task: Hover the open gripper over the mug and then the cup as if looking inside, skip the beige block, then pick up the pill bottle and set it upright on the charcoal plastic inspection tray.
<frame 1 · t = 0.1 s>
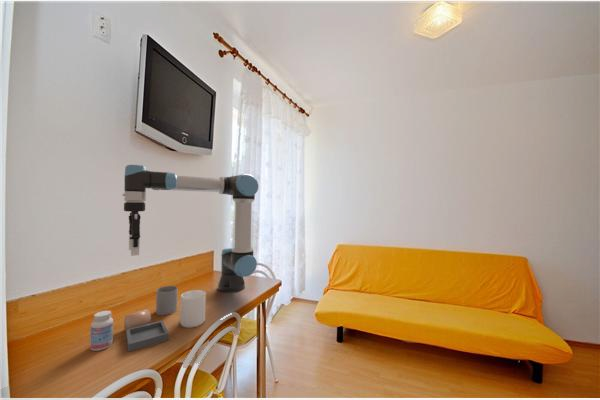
hand: (133, 252, 106), 28 cm above the table, fingers open, 13 cm apart
cup: (166, 311, 114), on the table
pill bottle: (101, 347, 86), on the table
tray: (147, 338, 92), on the table
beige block: (137, 327, 99), on the table
mug: (190, 322, 105), on the table
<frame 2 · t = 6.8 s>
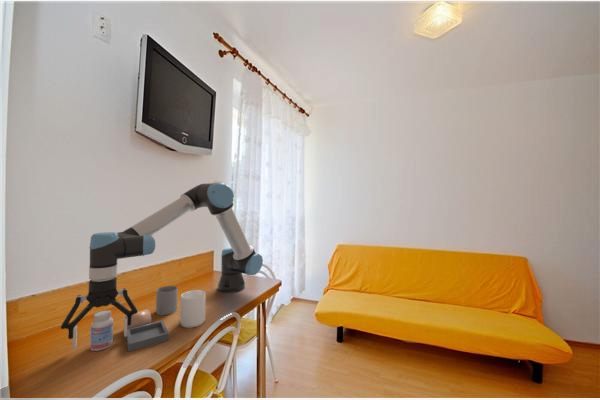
hand: (101, 340, 86), 2 cm above the table, fingers open, 13 cm apart
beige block: (137, 327, 99), on the table, tilted 6°
everything else where it was.
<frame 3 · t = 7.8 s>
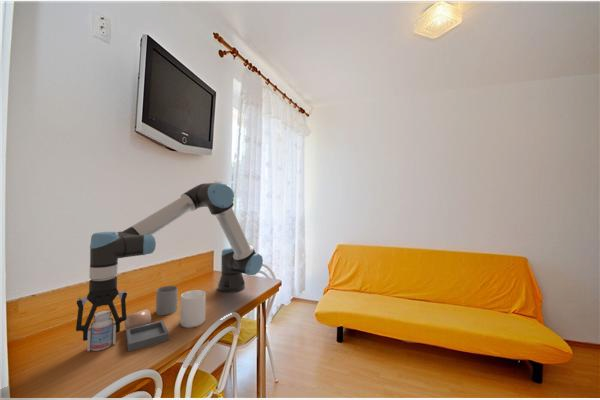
hand: (101, 345, 86), 0 cm above the table, fingers closed on pill bottle, 6 cm apart
pill bottle: (101, 347, 86), on the table, touching gripper
everything else where it was.
when the fingers open (3 cm above the table, at t = 14.1 s): pill bottle stays where it is, resting on tray.
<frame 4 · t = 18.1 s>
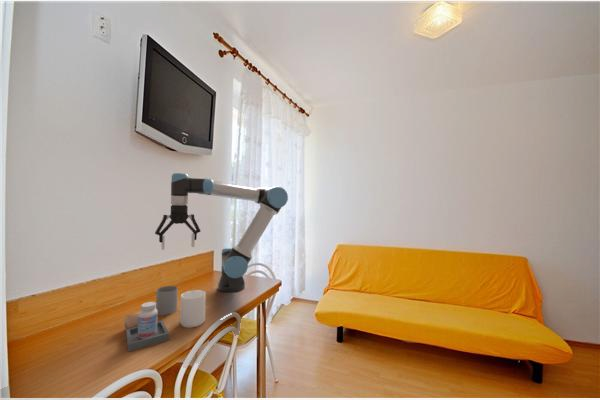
hand: (178, 247, 125), 27 cm above the table, fingers open, 13 cm apart
pill bottle: (147, 335, 92), point 1 cm above the table, touching tray
everything else where it was.
at the end: pill bottle inside the target area on the tray (0.1 cm from its centre), point 0.8 cm above the tray's base; pill bottle tilted 0°; the gripper is holding nothing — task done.
